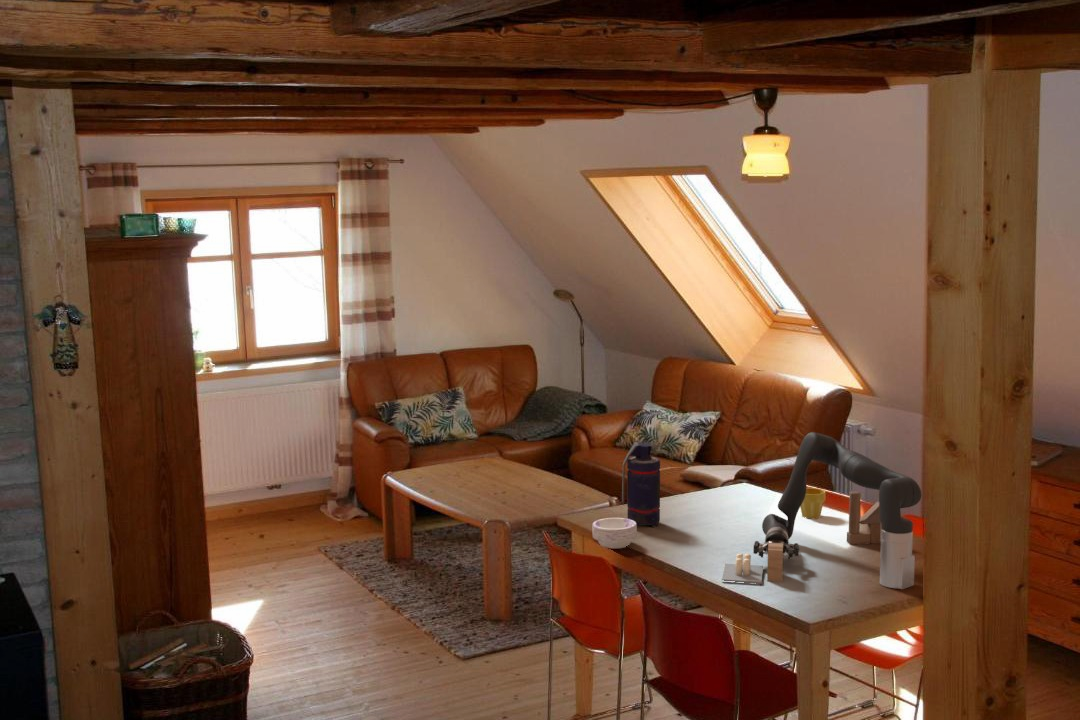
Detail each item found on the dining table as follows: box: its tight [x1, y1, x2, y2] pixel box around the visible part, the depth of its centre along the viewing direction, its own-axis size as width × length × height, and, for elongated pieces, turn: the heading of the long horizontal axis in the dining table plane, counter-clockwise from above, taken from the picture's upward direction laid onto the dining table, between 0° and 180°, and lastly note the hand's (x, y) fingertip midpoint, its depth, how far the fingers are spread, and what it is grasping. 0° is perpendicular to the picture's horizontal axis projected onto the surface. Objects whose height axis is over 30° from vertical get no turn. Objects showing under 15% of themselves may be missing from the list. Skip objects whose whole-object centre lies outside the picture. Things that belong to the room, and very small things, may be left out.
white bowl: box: [591, 517, 638, 550], centre depth 398 cm, size 15×15×8 cm
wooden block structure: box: [846, 490, 881, 546], centre depth 397 cm, size 4×11×18 cm, turn 95°
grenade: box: [621, 441, 661, 527], centre depth 423 cm, size 14×12×30 cm
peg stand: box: [721, 553, 764, 585], centre depth 365 cm, size 16×12×6 cm
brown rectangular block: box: [766, 543, 784, 583], centre depth 363 cm, size 8×4×10 cm, turn 167°
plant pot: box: [799, 487, 827, 519], centre depth 432 cm, size 10×10×10 cm
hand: (775, 555), depth 366 cm, fingers open, 8 cm apart
